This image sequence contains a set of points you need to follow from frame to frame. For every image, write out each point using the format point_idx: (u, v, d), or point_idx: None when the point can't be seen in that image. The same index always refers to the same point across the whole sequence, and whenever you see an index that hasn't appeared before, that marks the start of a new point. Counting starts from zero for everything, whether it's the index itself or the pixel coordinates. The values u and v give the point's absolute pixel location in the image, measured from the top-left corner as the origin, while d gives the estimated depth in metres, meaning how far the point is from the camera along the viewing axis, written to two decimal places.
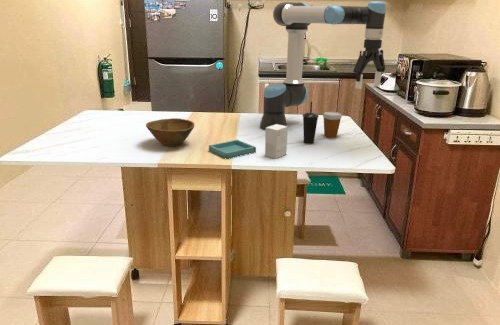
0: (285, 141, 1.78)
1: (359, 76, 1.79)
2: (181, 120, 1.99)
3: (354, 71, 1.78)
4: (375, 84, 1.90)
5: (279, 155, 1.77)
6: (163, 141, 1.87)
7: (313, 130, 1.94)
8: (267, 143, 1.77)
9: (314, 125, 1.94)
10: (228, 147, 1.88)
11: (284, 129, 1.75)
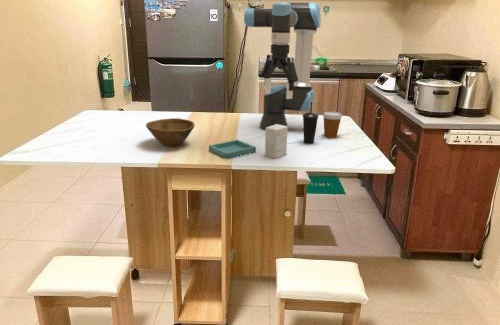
0: (285, 141, 1.78)
1: (265, 80, 1.75)
2: (181, 120, 1.99)
3: None
4: None
5: (279, 155, 1.77)
6: (163, 141, 1.87)
7: (313, 130, 1.94)
8: (267, 143, 1.77)
9: (314, 125, 1.94)
10: (228, 147, 1.88)
11: (284, 129, 1.75)
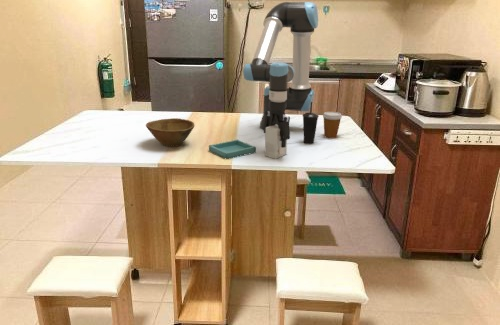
0: None
1: None
2: (181, 120, 1.99)
3: None
4: None
5: (279, 155, 1.77)
6: (163, 141, 1.87)
7: (313, 130, 1.94)
8: (267, 143, 1.77)
9: (314, 125, 1.94)
10: (228, 147, 1.88)
11: None
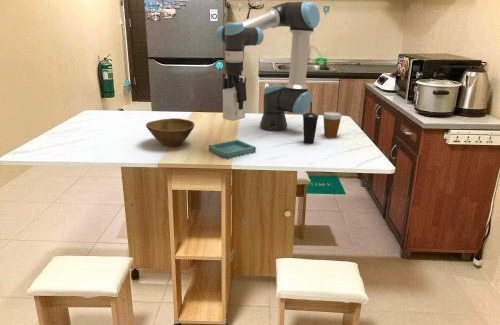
0: (243, 104, 1.76)
1: None
2: (181, 120, 1.99)
3: None
4: None
5: (237, 118, 1.75)
6: (163, 141, 1.87)
7: (313, 130, 1.94)
8: (224, 105, 1.74)
9: (314, 125, 1.94)
10: (228, 147, 1.88)
11: None
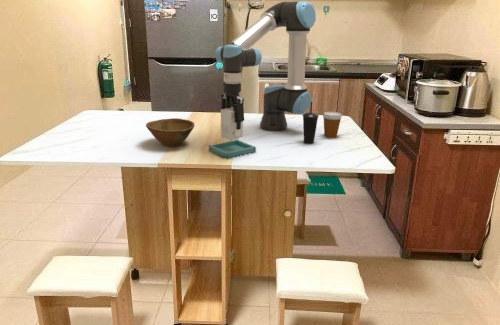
0: (241, 123, 1.79)
1: None
2: (181, 120, 1.99)
3: None
4: None
5: (234, 137, 1.78)
6: (163, 141, 1.87)
7: (313, 130, 1.94)
8: (222, 125, 1.78)
9: (314, 125, 1.94)
10: (228, 147, 1.88)
11: None
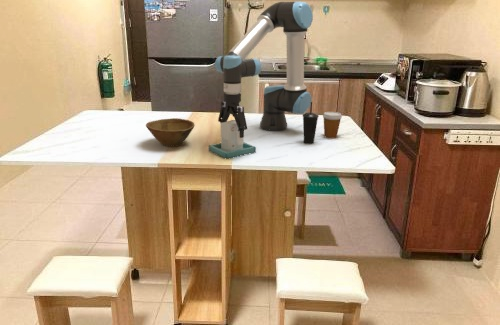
0: None
1: None
2: (181, 120, 1.99)
3: None
4: None
5: (234, 150, 1.81)
6: (163, 141, 1.87)
7: (313, 130, 1.94)
8: (222, 138, 1.80)
9: (314, 125, 1.94)
10: None
11: None
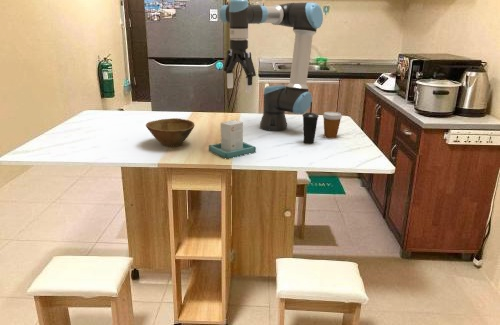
0: (241, 136, 1.82)
1: None
2: (181, 120, 1.99)
3: None
4: None
5: (234, 150, 1.81)
6: (163, 141, 1.87)
7: (313, 130, 1.94)
8: (222, 138, 1.80)
9: (314, 125, 1.94)
10: None
11: (239, 125, 1.79)
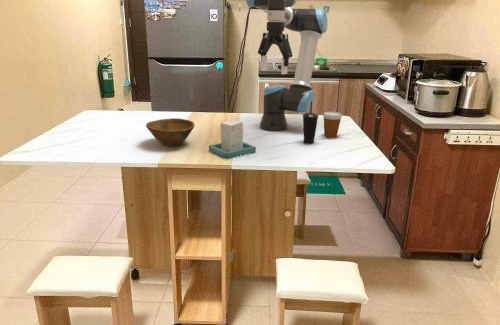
0: (241, 136, 1.82)
1: (261, 57, 1.83)
2: (181, 120, 1.99)
3: None
4: None
5: (234, 150, 1.81)
6: (163, 141, 1.87)
7: (313, 130, 1.94)
8: (222, 138, 1.80)
9: (314, 125, 1.94)
10: None
11: (239, 125, 1.79)
